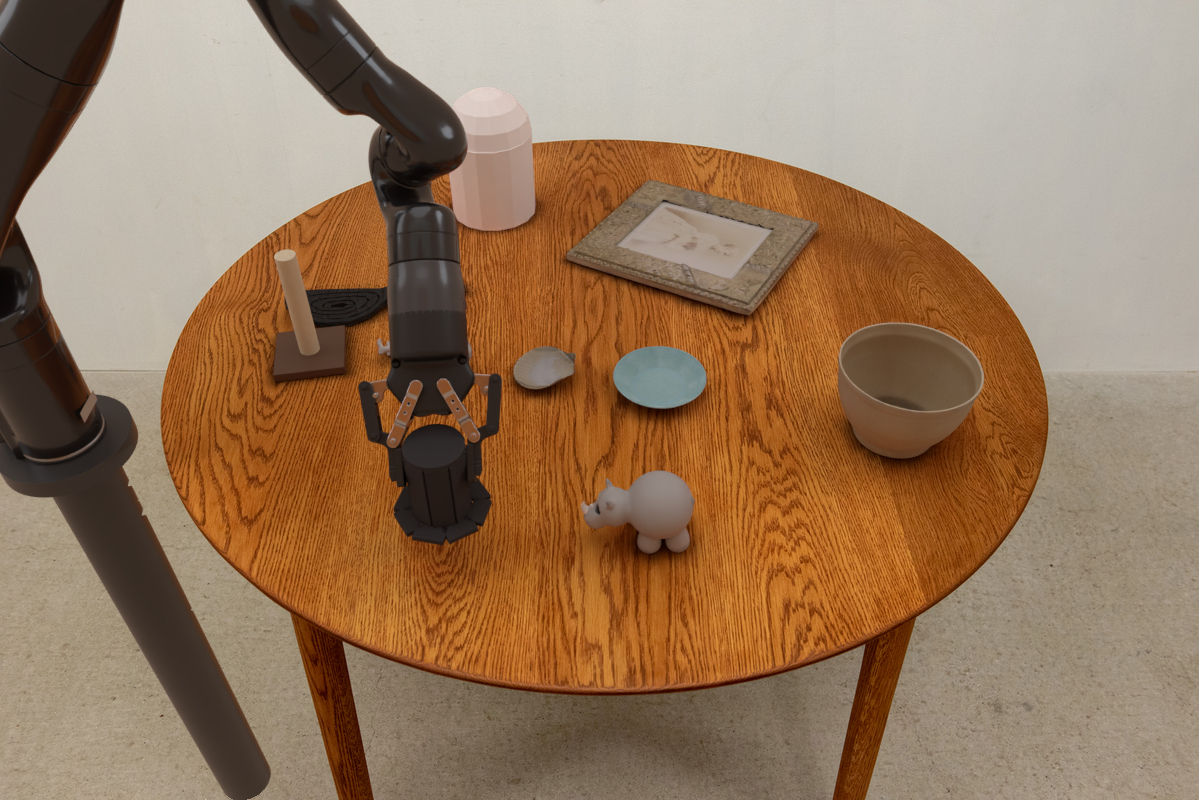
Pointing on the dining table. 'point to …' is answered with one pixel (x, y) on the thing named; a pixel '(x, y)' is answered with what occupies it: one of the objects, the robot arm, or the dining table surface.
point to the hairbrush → (344, 305)
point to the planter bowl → (906, 386)
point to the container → (494, 162)
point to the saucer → (659, 377)
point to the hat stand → (304, 332)
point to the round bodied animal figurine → (646, 510)
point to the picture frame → (696, 245)
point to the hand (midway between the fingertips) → (437, 483)
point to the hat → (439, 488)
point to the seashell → (543, 367)
